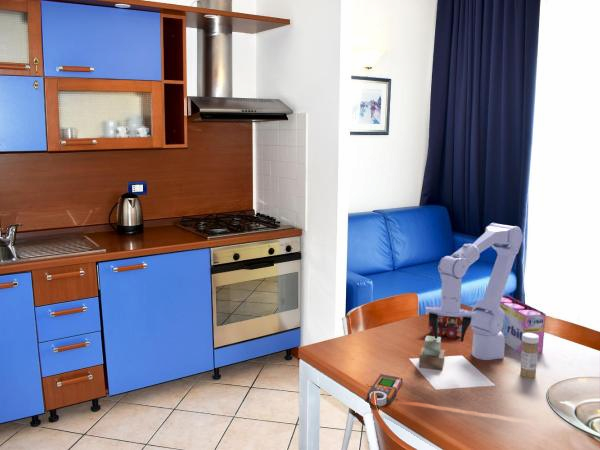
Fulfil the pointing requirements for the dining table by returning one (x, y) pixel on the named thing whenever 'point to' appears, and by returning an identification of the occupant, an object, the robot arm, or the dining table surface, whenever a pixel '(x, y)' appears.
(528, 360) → the sprinkles bottle
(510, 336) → the gum box
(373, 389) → the electronic device
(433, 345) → the sage cube
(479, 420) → the dining table surface
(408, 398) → the dining table surface
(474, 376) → the build board
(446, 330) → the toy fire truck
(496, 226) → the robot arm
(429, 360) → the walnut plinth
